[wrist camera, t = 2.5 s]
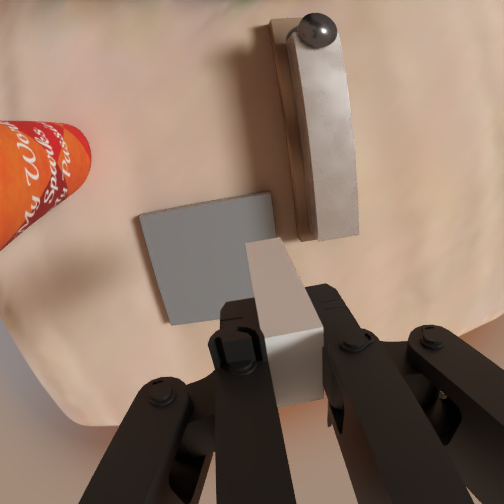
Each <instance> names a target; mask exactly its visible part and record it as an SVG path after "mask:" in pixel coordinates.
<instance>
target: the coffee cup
mask: <svg viewBox="0 0 504 504" xmlns="http://www.w3.org/2000/svg"><path fill="white" fill-rule="evenodd" d="M90 167H91V150H90V146H89V143H88V141H87V139H86V137H85V136H84V135H83V133H82V132H81V131H80V130H78V129H77V128H75V127H74V126H71V125H68V124H63V123H54V122H36V121H0V251H1V250H2V249H3V248H4V247H5V246H7V245H8V244H9V243H10V242H11V241H12V240H13V239H15V238H16V237H17V236H18V235H19V234H21V233H22V232H23V231H24V230H25V229H27V228H28V227H29V226H30V225H31V224H33V223H34V222H35V221H37V220H38V219H39V218H40V217H42V216H43V215H44V214H46V213H47V212H48V211H50V210H51V209H52V208H54V207H55V206H56V205H58V204H59V203H61V202H62V201H63V200H65V199H66V198H67V197H69V196H70V195H71V194H73V193H74V192H75V191H76V190H78V189H79V188H80V187H81V185H82V184H83V183H84V182H85V180H86V178H87V176H88V174H89V171H90Z"/></svg>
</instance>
